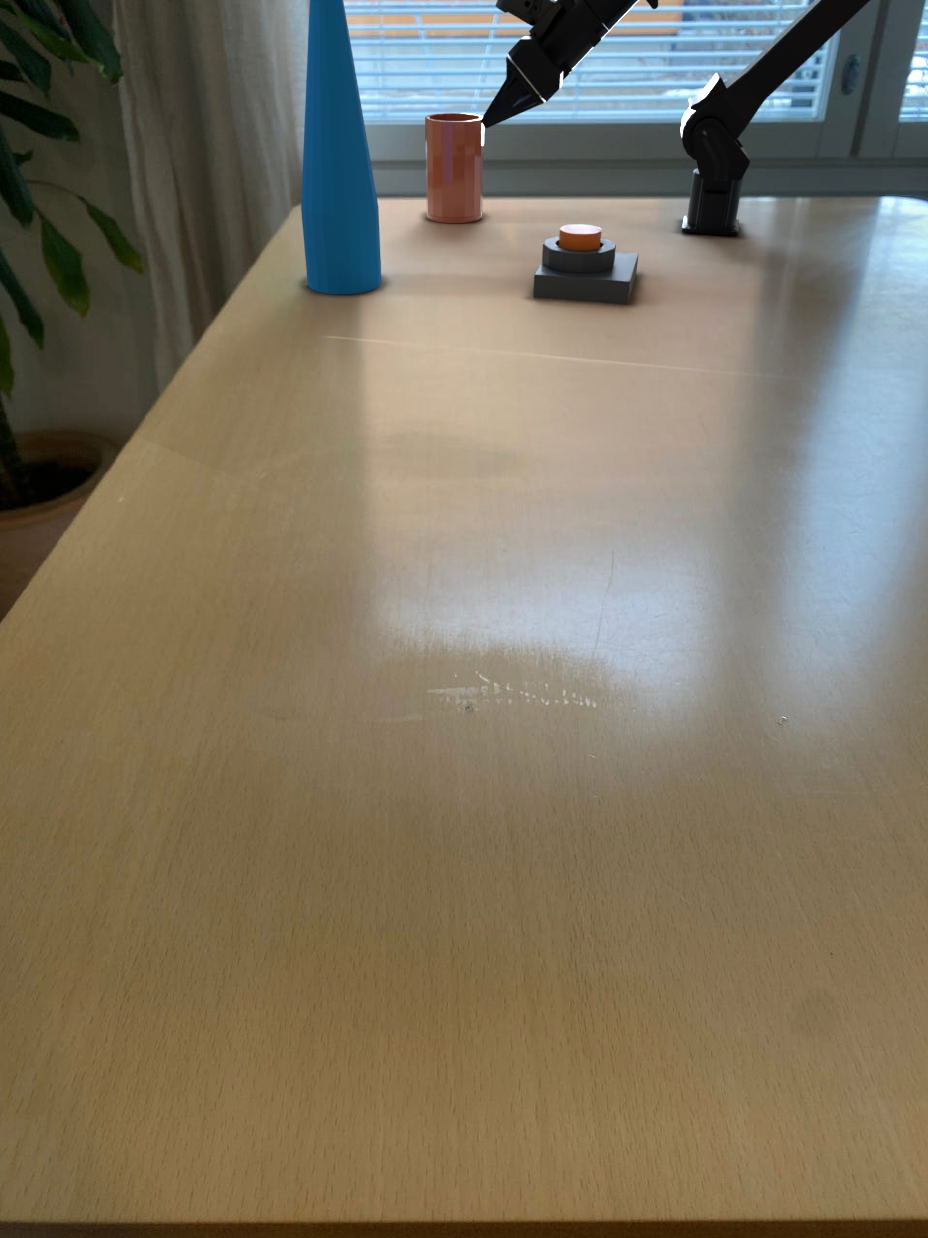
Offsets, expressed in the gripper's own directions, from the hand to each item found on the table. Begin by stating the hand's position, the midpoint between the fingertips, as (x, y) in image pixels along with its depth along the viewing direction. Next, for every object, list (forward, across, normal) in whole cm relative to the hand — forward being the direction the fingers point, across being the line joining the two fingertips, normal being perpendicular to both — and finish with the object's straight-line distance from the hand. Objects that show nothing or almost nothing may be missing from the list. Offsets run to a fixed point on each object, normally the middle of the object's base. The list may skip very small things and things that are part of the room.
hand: (489, 118), depth 110 cm
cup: (+11, 0, +5) cm, 12 cm away
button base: (-2, +26, +18) cm, 32 cm away
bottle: (+15, +30, +1) cm, 33 cm away
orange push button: (-4, +26, +14) cm, 30 cm away
